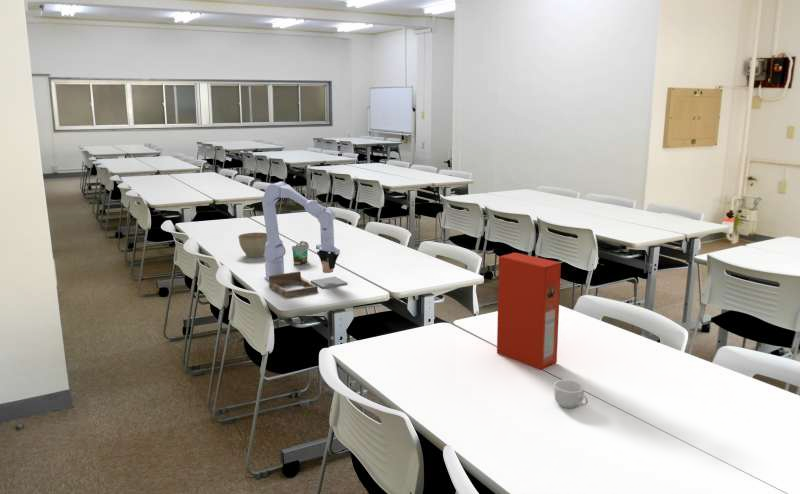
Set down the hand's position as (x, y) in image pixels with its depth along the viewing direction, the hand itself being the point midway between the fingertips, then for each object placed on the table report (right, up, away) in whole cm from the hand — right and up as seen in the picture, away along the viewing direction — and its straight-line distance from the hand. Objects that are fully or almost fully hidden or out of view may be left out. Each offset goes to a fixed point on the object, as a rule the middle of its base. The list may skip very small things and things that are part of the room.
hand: (328, 267), depth 282 cm
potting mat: (0, -7, +2) cm, 7 cm away
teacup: (+77, -33, -112) cm, 140 cm away
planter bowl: (-44, +4, +53) cm, 69 cm away
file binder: (+71, -26, -82) cm, 111 cm away
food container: (-17, +1, +36) cm, 40 cm away
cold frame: (-14, -9, -7) cm, 18 cm away
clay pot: (0, -2, 0) cm, 2 cm away
